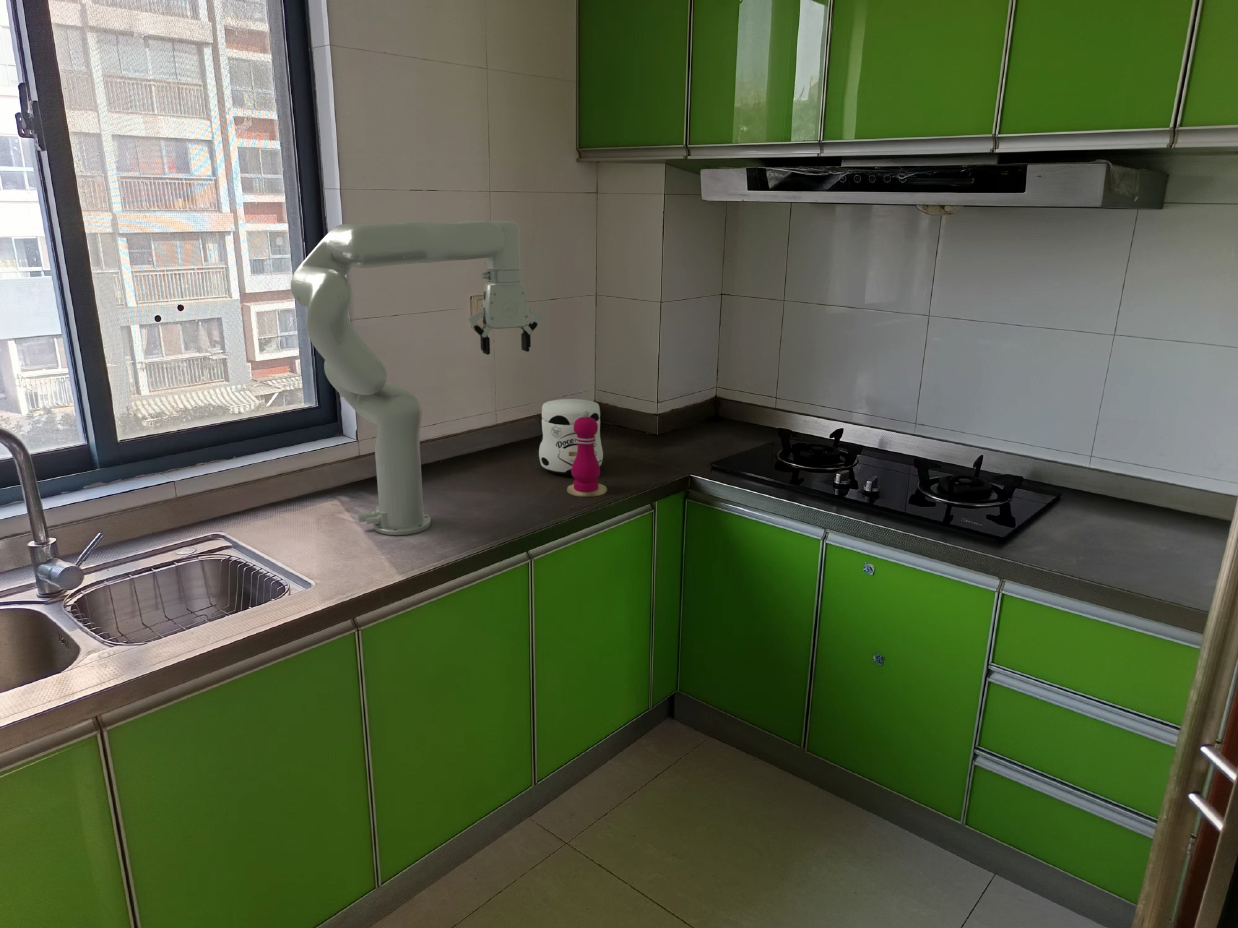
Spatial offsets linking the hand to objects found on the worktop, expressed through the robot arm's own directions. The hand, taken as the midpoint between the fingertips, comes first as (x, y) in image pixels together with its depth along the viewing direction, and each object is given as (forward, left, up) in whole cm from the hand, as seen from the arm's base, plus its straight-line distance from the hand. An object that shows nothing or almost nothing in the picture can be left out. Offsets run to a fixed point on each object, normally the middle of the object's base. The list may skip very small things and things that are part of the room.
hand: (506, 352), depth 206 cm
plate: (+20, -2, -36) cm, 41 cm away
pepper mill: (+20, -2, -36) cm, 41 cm away
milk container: (+24, +16, -37) cm, 47 cm away
